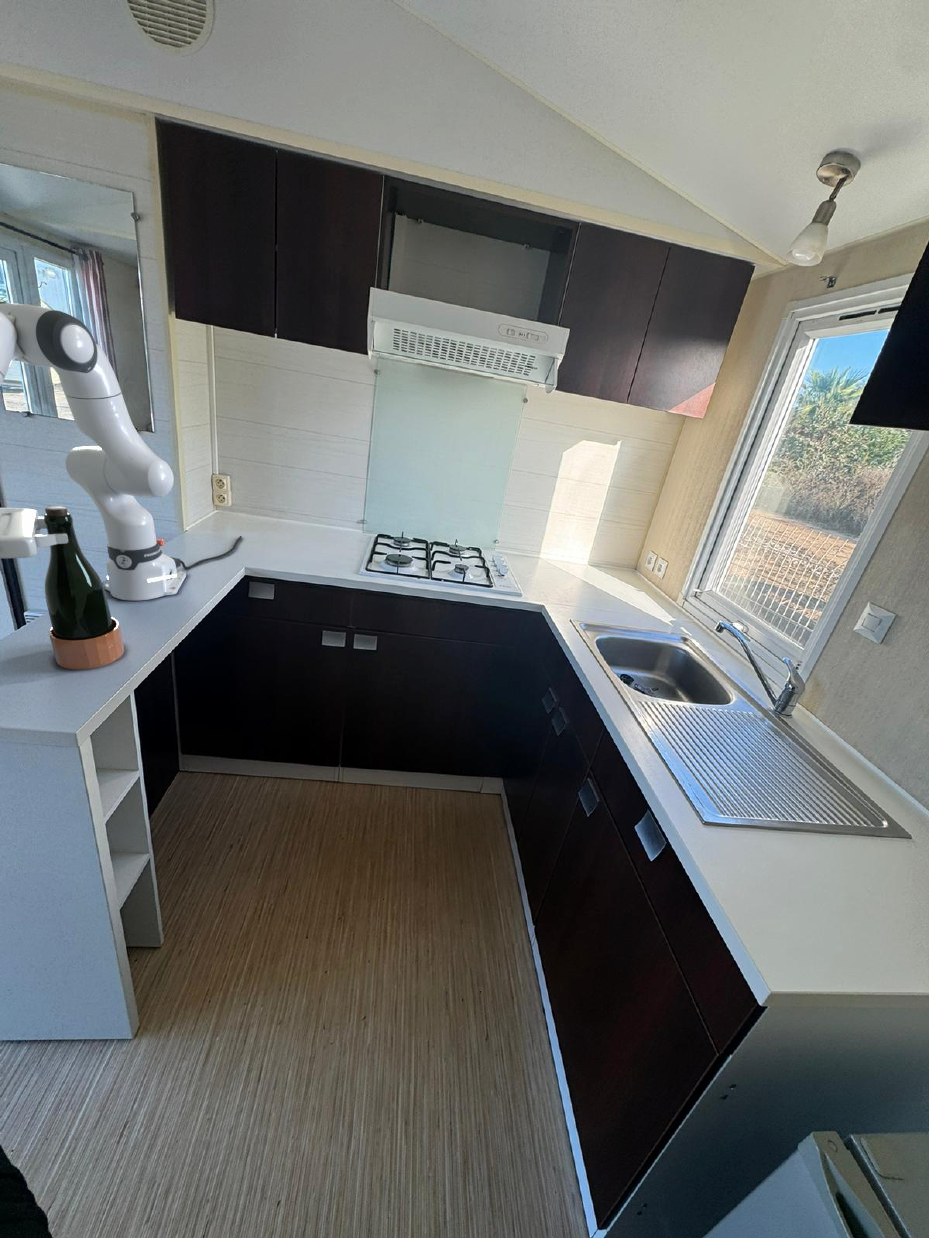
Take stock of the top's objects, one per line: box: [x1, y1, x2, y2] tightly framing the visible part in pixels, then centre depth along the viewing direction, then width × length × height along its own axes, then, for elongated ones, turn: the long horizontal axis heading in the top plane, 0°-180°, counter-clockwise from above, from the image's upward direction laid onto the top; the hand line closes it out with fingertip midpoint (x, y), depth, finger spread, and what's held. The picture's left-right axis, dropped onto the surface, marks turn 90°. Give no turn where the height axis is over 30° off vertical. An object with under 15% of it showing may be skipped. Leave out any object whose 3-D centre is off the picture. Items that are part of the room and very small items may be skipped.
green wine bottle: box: [43, 505, 114, 641], centre depth 101 cm, size 10×10×33 cm
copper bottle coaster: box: [48, 616, 125, 671], centre depth 107 cm, size 12×12×7 cm
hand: (67, 530), depth 97 cm, fingers open, 8 cm apart
